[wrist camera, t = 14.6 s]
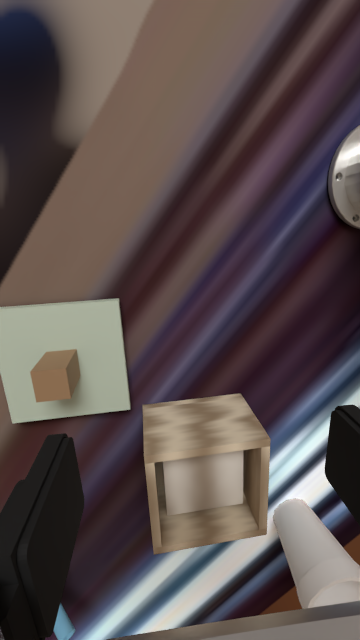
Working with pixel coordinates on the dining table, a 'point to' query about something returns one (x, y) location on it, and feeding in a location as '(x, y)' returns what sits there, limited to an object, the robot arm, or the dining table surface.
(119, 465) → the dining table surface
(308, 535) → the foam cup
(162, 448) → the box
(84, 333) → the lid
